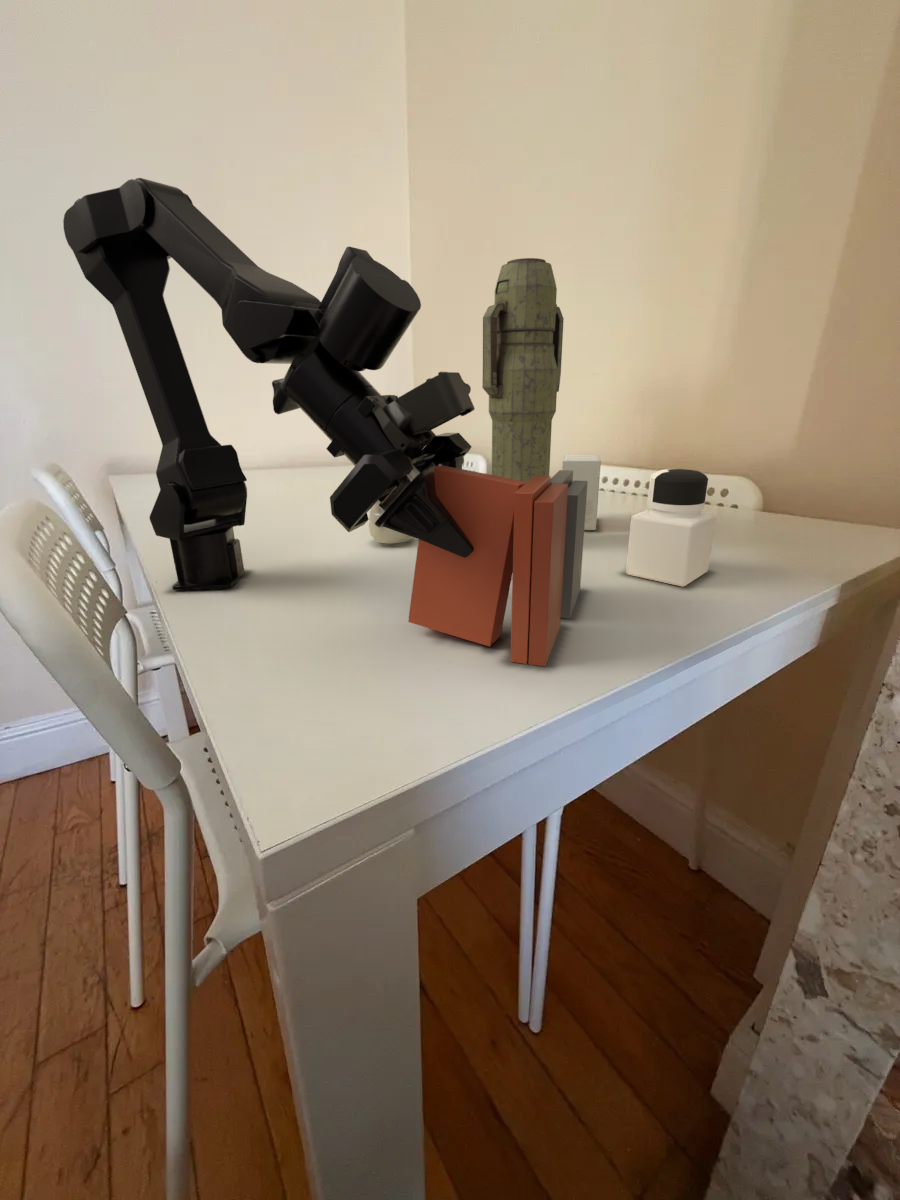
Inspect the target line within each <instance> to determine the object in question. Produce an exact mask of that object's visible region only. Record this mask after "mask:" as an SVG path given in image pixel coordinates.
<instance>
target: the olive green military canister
mask: <svg viewBox="0 0 900 1200" xmlns="http://www.w3.org/2000/svg"><path fill="white" fill-rule="evenodd" d="M557 291H558V289H557V283H556V278H555V275H554V271H553V267H552V263H549V262H546V259H543V258H537V257H536V258H534V257H525V258H524V257H523V258H515V259H511V260H508V261H507V262H506V263H505V264H503V265H502V266H501V267H500V270H499V274H498V277H497V280H496V284H495V289H494V304H492V305H489V306H488V307H487V309H486V311H485V312H484V314H483V316H482V389H483V390H484V391H485V393H486V394H487V395H488V415H489V416H490V419H491V475H494V476H499V477H505V478H510V479H515V480H520V481H525V482H528V481H530V480H531V479H532V478H533V477H534V476H550V467H551V444H552V426H553V423H552V422H553V421H552V420H553V418H554V416H555V415H556V412H557V398H558V397H557V394H558V393H559V392H560V386H561V385H560V384H561V377H562V375H561V374H562V359H563V357H562V356H563V337H564V319H565V318H564V316H563V312H562V310H561V308H560V306H558V303H557V296H558V295H557V294H558V293H557Z"/></svg>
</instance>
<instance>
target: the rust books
mask: <svg viewBox="0 0 900 1200" xmlns="http://www.w3.org/2000/svg"><path fill="white" fill-rule="evenodd" d="M551 478H552V477H551V476H550V475H549V476H534V477H533V478H532V479H531V480H530V481H528V482H527V483H526V484H525V485H523V486H522V487H521V488H520V489H519V490H517V491H516V492H515V494H514V536H513V573H512V578H511V583H512V586H511V622H510V624H511V627H510V628H511V629H510V630H511V631H510V662H511V663H515V664H516V663H517V664H524V665H527V664H528V665H530V666H537V667H546V666H547V663H548V661H549V658H550V655H551V654H552V650H553V647H554V645H555V642H556V641H557V638H558V635H559V632H560V629H561V619H562V618H561V602H562V584H563V567H564V550H565V532H566V515H567V497H568V484H553V483H552V484H551V485H550V483H551Z"/></svg>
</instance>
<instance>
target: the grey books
mask: <svg viewBox="0 0 900 1200" xmlns="http://www.w3.org/2000/svg"><path fill="white" fill-rule="evenodd" d="M552 483H553V484H568V497H567V515H566V532H565V550H564V567H563V584H562V602H561V619H567V620H570V619H571V618H572V615H573V612H574V609H575V607H576V604H577V601H578V598H579V595H580V593H581V580H582V567H583V553H584V538H585V530H584V526H585V512H586V497H587V483H588V481H573V471H571V470H562V469H560V470H558V471H557V472H556V473H555V474H554V475H552V477H551V483H550V485H551V484H552Z"/></svg>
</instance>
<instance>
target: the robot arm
mask: <svg viewBox="0 0 900 1200" xmlns="http://www.w3.org/2000/svg"><path fill="white" fill-rule="evenodd" d="M62 226H63V233H64V237H65V240H66V242H67V244H68V246H69V249H71V250H72V252H73V254H74V257H75V259H76V261H77V263H78V266H79V267H80V269H81V272H82V274H83V277H84V278H85V279H86V281H88V283H90V284H91V286H92V287H94V288H95V290H97V291H98V292H99V293H100V294H101V295H102V297H104V298H105V299H106V300H107V301H108V302H109V303H110V304H111V306H112V307H113V310H114V313H115V315H116V318H117V321H118V324H119V327H120V330H121V332H122V335H123V337H124V340H125V343H126V346H127V349H128V352H129V354H130V357H131V360H132V363H133V365H134V369H135V371H136V374H137V377H138V379H139V383H140V385H141V388H142V391H143V394H144V397H145V399H146V402H147V405H148V408H149V411H150V414H151V416H152V420H153V422H154V424H155V427H156V430H157V433H158V436H159V439H160V442H161V445H162V446H161V451H160V454H159V459H158V463H157V467H156V471H155V476H156V479H157V482H158V486H159V492H158V494H157V497H156V499H155V502H154V505H153V507H152V510H151V512H150V515H149V521H150V524H151V526H152V530H153V531H154V534H155V535H156V537H161V538H164V539H169V543H170V548H171V553H172V559H173V563H174V568H175V569H174V570H175V574H176V578H177V581H176V582H175V583H173V584H172V590H173V591H186V590H187V591H188V590H189V591H190V590H193V591H194V590H217V589H218V590H219V589H231V588H232V587H233V586H234V584H235V583H236V582H237V581H238V580H239V579H240V578H241V576H242V575H244V573H245V572H246V570H245V569H246V568H245V567H244V566H245V565H244V560H243V553H242V547H241V546H242V545H241V541H240V539H239V538H236V537H235V531H234V527H241V526H245V524H246V523H245V522H246V510H247V501H248V487H247V485H246V482H247V477H246V475H245V474H244V472H243V469H242V467H241V465H240V460H239V456H238V452H237V450H236V449H235V448H234V446H233V445H232V444H223V445H222V443H220V442H219V441H218V440H217V439H216V438H215V437H214V436H212V434H211V432H210V431H209V427H208V424H207V422H206V418H205V415H204V412H203V410H202V407H201V404H200V401H199V398H198V395H197V392H196V389H195V386H194V383H193V380H192V377H191V374H190V372H189V368H188V366H187V363H186V360H185V356H184V354H183V351H182V348H181V345H180V342H179V339H178V336H177V334H176V330H175V328H174V325H173V321H172V319H171V316H170V313H169V310H168V307H167V304H166V301H165V296H164V293H165V289H166V286H167V283H168V279H169V274H170V271H171V267H170V263H169V260H170V259H171V258H172V259H173V260H174V261H175V262H176V263H177V264H178V266H179V267H181V268H182V270H184V271H185V273H187V274H188V275H189V276H190V277H191V278H192V279H193V280H194V281H195V282H196V283H197V284H198V285H199V286H200V287H201V288H202V290H204V292H206V293H207V294H208V295H209V296H210V297H211V298H212V299H213V301H215V303H216V304H217V305H218V307H219V308H220V309H221V322H222V326H223V328H224V330H225V332H226V333H227V334H228V335H229V337H231V339H232V341H233V342H234V344H235V345H236V346H237V348H238V349H239V351H240V352H241V353H242V354H243V356H244V357H245V358H246V359H248V360H249V361H250V362H252V363H256V364H275V365H277V364H279V365H280V364H281V365H282V364H283V365H290V366H288V367H289V368H288V369H287V370H286V373H285V375H284V377H283V378H278V379H273V380H272V381H271V387H272V389H273V390H272V391H273V397H272V407H273V412H274V414H276V415H282V414H285V413H289V412H291V411H294V410H298V409H300V410H301V411H302V412H303V413H304V414H305V415H306V416H307V417H308V418H309V419H310V420H311V421H312V422H313V423H314V424H315V426H316V427H317V428H318V429H319V430H320V431H321V432H322V433H323V434H324V436H326V437H327V438H328V439H329V441H331V442H330V443H329V444H328V446H327V447H326V448H325V449H326V450H327V452H328V453H330V455H331V456H332V457H333V458H338V457H342V456H344V457H346V458H347V460H348V461H350V462H351V464H352V465H353V466H354V467H353V468H352V469H351V470H350V472H349V473H348V474H347V476H346V477H345V478H344V479H343V480H342V481H341V483H340V484H339V485H338V486H337V488H336V489H335V490H334V491H333V493H332V494H331V495H330V496H329V502H330V503H329V504H330V513H331V515H332V517H333V518H334V519H335V520H336V521H337V522H338V523H339V524H340V526H342V527H343V528H344V529H345V530H346V532H348V533H351V532H352V531H355V530H357V529H359V528H360V527H363V526H365V525H366V523H367V522H369V516H368V512H370V511H371V508H372V506H373V505H374V504H375V503H376V502H377V501H378V500H379V501H380V502H381V503H380V504H379V507H380V508H381V509H382V510H383V511H384V513H383V514H382V515H381V516H380V517H379V519H378V520H377V521H376V522H375V525H376V526H377V527H379V528H380V527H386V528H389V529H391V530H394V531H397V532H400V533H403V534H406V535H408V536H411V538H414V539H417V540H418V541H419V540H422V541H424V542H427V543H429V544H432V545H434V546H437V547H439V548H442V549H444V550H447V551H449V552H451V553H454V554H456V555H459V556H461V557H464V558H466V557H468V556H469V555H470V554H471V553H472V552H473V551H474V547H473V545H472V544H471V542H470V541H469V539H468V538H467V536H466V535H465V533H464V532H463V531H462V529H461V528H460V527H459V525H458V524H457V523H456V521H455V520H454V519H453V517H452V516H451V514H450V513H449V512H448V510H447V509H446V508H445V506H444V505H443V504H442V502H441V501H440V500H439V498H438V497H437V495H436V489H435V474H434V468H433V466H448V467H453V468H458V469H463V464H464V462H465V456H466V455H467V454H468V453H469V451H470V450H471V449H472V447H473V446H472V445H471V444H470V443H469V442H468V441H467V440H466V438H464V437H463V436H462V434H461V433H460V432H444V433H441V434H436V433H435V432H434V431H433V430H434V429H436V428H438V427H440V426H442V425H444V424H446V423H449V422H450V421H452V420H453V419H455V418H458V417H459V416H461V417H464V416H466V415H468V414H470V413H472V412H473V411H475V409H476V408H475V406H474V403H473V401H472V399H471V397H470V394H471V391H472V389H471V386H470V384H468V383H466V382H465V381H464V380H463V378H462V376H461V374H460V372H457V371H456V372H455V371H453V372H452V371H439V372H438V373H437V375H435V376H434V377H430V378H427V379H426V380H425V381H424V382H423V383H421V384H419V385H418V386H416V387H414V388H411V390H409V391H407V392H405V393H404V394H402V395H401V396H398V395H396V394H383V395H382V394H381V393H380V392H379V391H378V390H377V389H376V388H375V387H374V386H373V385H372V384H371V382H370V381H369V380H368V379H367V378H366V377H365V376H364V375H363V374H362V373H361V372H364V371H366V370H369V371H377V370H381V369H382V368H383V367H384V366H385V364H386V362H387V361H388V360H389V358H390V356H391V355H392V353H393V352H394V350H395V349H396V347H397V345H398V344H399V343H400V341H401V340H402V338H403V336H404V335H405V333H406V332H407V330H408V329H409V327H410V325H411V324H412V322H413V321H414V319H415V317H416V316H417V315H418V313H419V311H420V310H421V307H422V303H421V299H420V297H419V295H418V293H417V292H416V290H415V289H414V287H413V286H412V285H411V284H410V283H409V282H408V280H405V279H402V278H401V277H400V276H398V275H397V274H396V273H395V272H394V271H392V270H391V269H389V268H388V267H387V266H385V265H384V264H382V263H380V262H378V261H377V260H374V258H373V257H372V256H371V255H370V253H369V252H368V251H367V250H366V249H361V248H357V247H354V246H346V248H345V250H344V251H343V253H342V255H341V258H340V259H339V262H338V265H337V269H336V271H335V273H334V276H333V278H332V280H331V282H330V283H329V286H328V288H327V290H326V291H325V294H324V296H323V298H322V299H321V300H320V299H319V298H318V297H316V296H315V295H313V294H312V293H310V292H308V291H307V290H305V289H303V288H302V287H300V286H299V285H297V284H295V283H293V282H292V281H288V280H286V279H284V278H282V277H279V276H277V275H274V274H272V273H270V272H268V271H266V270H264V269H263V268H261V267H260V266H258V264H257V263H255V262H254V261H253V260H252V259H251V257H249V256H248V255H247V254H246V253H245V252H244V251H243V250H241V249H240V248H239V246H237V245H236V244H235V242H233V241H232V240H231V239H230V238H229V237H228V236H227V235H226V234H225V233H224V232H223V231H221V229H220V228H218V227H217V226H216V225H215V224H214V222H212V221H211V220H210V219H209V218H208V217H207V216H206V215H204V214H203V212H201V210H200V209H198V208H197V207H196V206H195V205H194V203H193V201H192V198H190V196H189V195H188V194H187V193H185V192H184V191H183V190H181V189H180V188H178V187H177V186H172V185H168V184H165V183H162V182H158V181H154V180H150V179H146V178H143V177H137V178H135V179H134V178H131V179H128V180H126V181H125V182H124V183H122V184H121V185H120V186H118V187H115V188H111V189H107V190H103V191H98V192H92V193H88V194H85V195H83V196H81V198H78V199H77V200H75V201H74V203H73V204H72V205H71V206H70V207H68V209H66V211H65V213H64V215H63V225H62ZM397 396H398V397H397ZM428 467H432V468H430V469H428Z"/></svg>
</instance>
